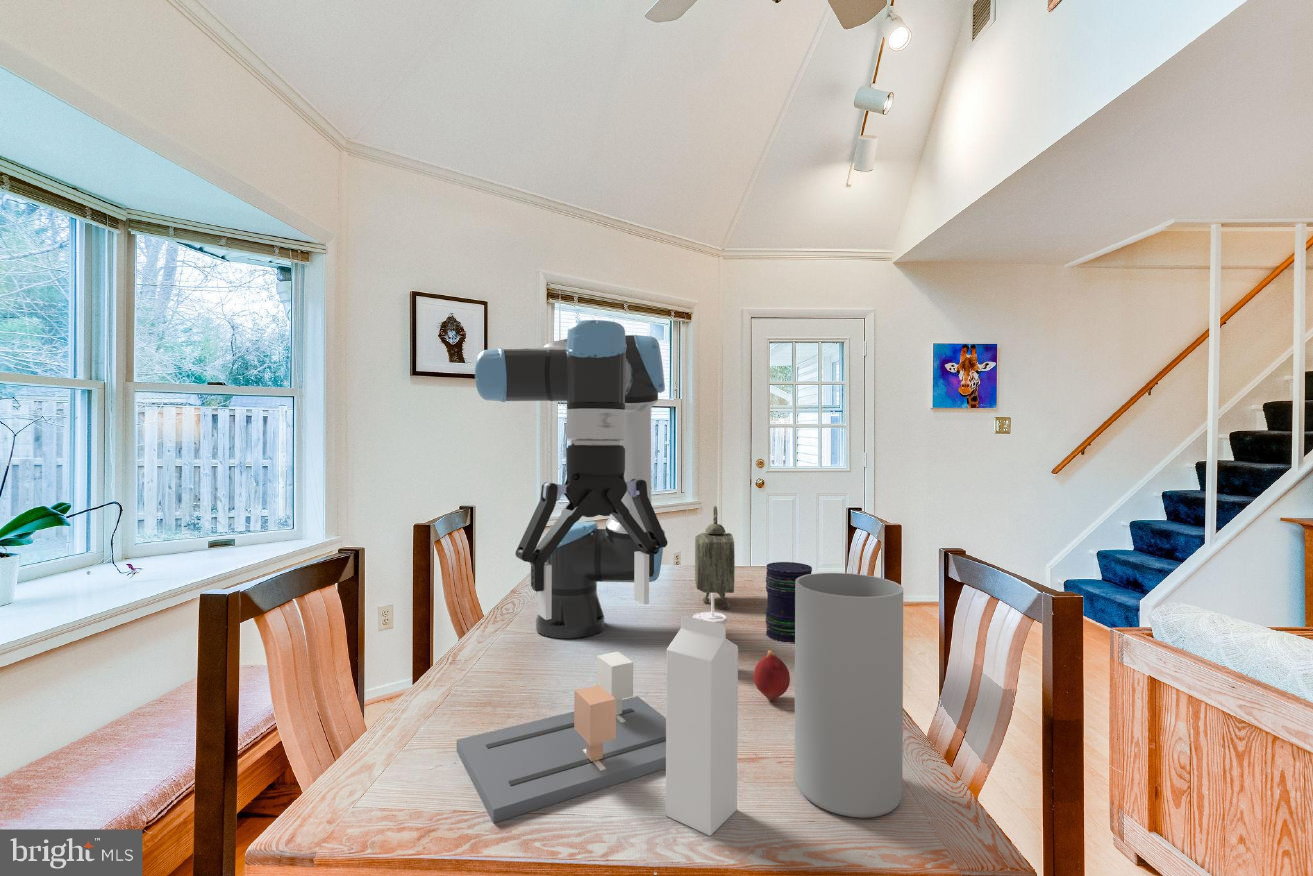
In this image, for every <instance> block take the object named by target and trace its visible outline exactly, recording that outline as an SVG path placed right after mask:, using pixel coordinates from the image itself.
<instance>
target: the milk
mask: <svg viewBox="0 0 1313 876" xmlns="http://www.w3.org/2000/svg"><path fill="white" fill-rule="evenodd" d="M726 631H727V630H726V624H725V625H724V624H720V623H716V622H711V621H706V620H702V619H697V618H693V616H688V615H682V616H681V617H680V629H679V630H678V632H677V633H676V635H675V637H674V638H673V639H672V640H671V642H670V644H669V645H668V647H667V648H666V675H665V676H666V679H665V680H666V687H665V688H666V689H665V691H666V699H665V701H666V703H665V705H666V706H665V707H666V708H665V712H666V713H665V714H666V715H665V718H666V769H665V816H666V817H668V818H670V819H672V820H675V821H676V822H679V823H681V824H684V825H686V826H687V827H689V828H692V829H694V830H696V831H698V832H700V833H703V835H707V836H709V837H710V836H712V835H713V834H714V833H715V832H716V831H717V830H718V829H719V828H720V827H721V826H722V825H723V824H724V823H725V822H726V821H728V819H729V818H730V817H731V816H733V814H735V812H736V811H738V742H739V741H738V733H739V732H738V731H739V730H738V724H739V723H738V722H739V721H738V719H739V718H738V715H739V714H738V713H739V709H738V707H739V706H738V705H739V697H738V696H739V691H738V690H739V647H738V645H737V644H735V643H734V642H732V641H731V640H729V639H727V638H726V636H727V635H726V634H727V633H726Z"/></svg>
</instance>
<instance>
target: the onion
mask: <svg viewBox="0 0 1313 876" xmlns="http://www.w3.org/2000/svg"><path fill="white" fill-rule="evenodd" d="M788 668H789V667H787V665H786V664H785V663H784V662H783V660H781V659H780V658H779V657H778V656H777V655H776V654H775V653H774V652H773V651H772V650H767V655H766V656H764V657H763V658H761V659H760V660H759V661H758V662H757V664H756V666H755V668H754V671H753V673H752V674H753V676H752V677H753V683H754V684H755V687H756V689H757V690H758V691H759V692H760V693H761V694H762V695H763V696H765V698H766V699H767V700H768V701H774V700H776V699H778V698H779V697H781V696H782V695H784V694H785V693H787V690H788V688H789V686H790V682H791V676H790V671H789V669H788Z"/></svg>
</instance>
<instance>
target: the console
mask: <svg viewBox="0 0 1313 876" xmlns="http://www.w3.org/2000/svg"><path fill="white" fill-rule="evenodd" d="M456 752H457V754H458V756H459V758H460V760H461V762H462V764H463V766H464V768H465V770H466V772H467V774H468V776H469V777H470V780H471V782H472V784H473V786H474V788H475V790H476V792H477V793H478V795H479V797H480V800H481V802H482V804H483V806H484V808H485V810H486V811H487V814H488V815H489V817H490V819H491V821H492V823H493V824H496V823H498V822H501V821H504V820H508V819H511V818H514V817H518V816H521V815H524V814H526V813H530V812H533V811H536V810H539V809H541V808H545V807H548V806H552V805H555V804H558V803H561V802H564V801H568V800H571V799H574V798H577V797H580V796H583V795H587V794H590V793H593V792H596V791H598V790H603V789H605V788H609V787H612V786H615V785H618V784H621V783H624V782H627V781H630V780H634V779H636V778H640V777H643V776H646V775H650V774H652V773H656V772H658V771H663V770H666V716H664V715H663V714H661V713H660V712H659V711H657V710H656V709H655V708H654V707H652V706H651V705H649V704H648V703H647V702H645V701H644V699H642V698H640V697H639V696H638V695H636V696H632V697H628V698H624V699H622V714H618V715H616V739H613V740H609V741H606V742H603V758H602V759H599V760H596V761H592V762H591V761H590V760H589V758H588V757H587V756H586V741H585V740H584V739H583V738H582V737H581V735H580V734H579V733H578V732H577V731H576V730H575V729H574V711H570V712H566V713H562V714H558V715H554V716H550V717H545V718H542V719H537V720H533V721H528V722H524V723H521V724H516V725H512V726H509V727H504V728H500V729H499V728H498V729H495V730H492V731H488V732H483V733H478V734H475V735H472V736H471V735H470V736H466V737H463V738H459V739H456Z"/></svg>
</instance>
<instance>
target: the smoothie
mask: <svg viewBox="0 0 1313 876" xmlns="http://www.w3.org/2000/svg"><path fill="white" fill-rule="evenodd" d="M710 594H711V595H710V597H711V598H710V601H711V602H710V603H711V604H710V605H711V606H710V610H711V611H703V612H702V611H701V612H696V613H694V614H693V615H692V618H697V619H702V620H706V621H711V622H716V623H720V624H724V625H725V626H726V625H727V623H728V621H727V619H728V617H727V616H726V614H723V613H721V612H715V593H710Z"/></svg>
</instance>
